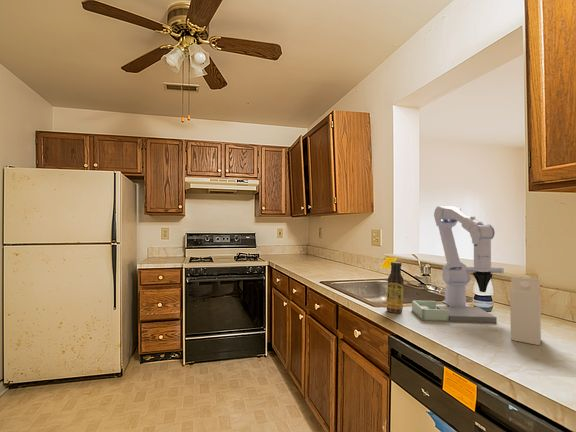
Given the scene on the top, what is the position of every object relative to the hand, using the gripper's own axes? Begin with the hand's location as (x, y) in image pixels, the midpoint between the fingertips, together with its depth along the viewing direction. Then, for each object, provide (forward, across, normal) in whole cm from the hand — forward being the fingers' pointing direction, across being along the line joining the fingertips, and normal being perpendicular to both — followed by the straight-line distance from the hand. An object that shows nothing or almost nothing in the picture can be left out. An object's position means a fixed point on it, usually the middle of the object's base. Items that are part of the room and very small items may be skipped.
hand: (482, 291), depth 126 cm
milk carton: (+10, +1, -25) cm, 27 cm away
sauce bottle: (+10, -32, +3) cm, 34 cm away
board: (+9, -7, -1) cm, 12 cm away
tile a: (+7, -22, +2) cm, 23 cm away
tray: (+9, -20, -1) cm, 22 cm away
